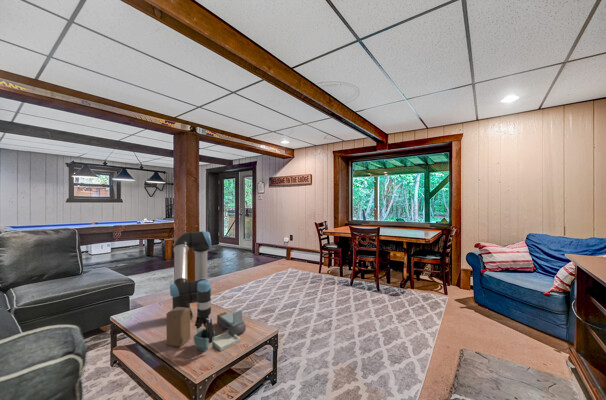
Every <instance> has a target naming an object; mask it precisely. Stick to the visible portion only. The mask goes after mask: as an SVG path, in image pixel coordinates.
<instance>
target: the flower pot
mask: <svg viewBox="0 0 606 400" xmlns="http://www.w3.org/2000/svg"><path fill="white" fill-rule="evenodd" d="M213 331H214V335H216V333H215V332H216V331H215V330H213ZM207 337H208V335H207V332H206V329H205V328H202V330H201V331H200V332H198V333H197V332H196V334H194V335H193V341H194V343H193V344H194V345H195V348H196V349H197V350H199V351H203V352H206V351H208V349H207ZM214 337H215V336H214ZM214 337H212V343H213V341H214Z"/></svg>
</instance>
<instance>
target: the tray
mask: <svg viewBox="0 0 606 400" xmlns="http://www.w3.org/2000/svg"><path fill="white" fill-rule="evenodd" d="M241 339H242V338H241V337H240V336H238V335H234V336H233V337H232V336H231V335H230V334H229V333H228V330H227V331H224V332H222V333H221V334H218V335H216V336H214V341H213V343H212V346H214V347H215V348H216V349H217V350H219V352H222V351H224V350H227V349H229V348H231V347H232V346H235V345H238V344H239V343H241V341H242V340H241Z"/></svg>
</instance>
